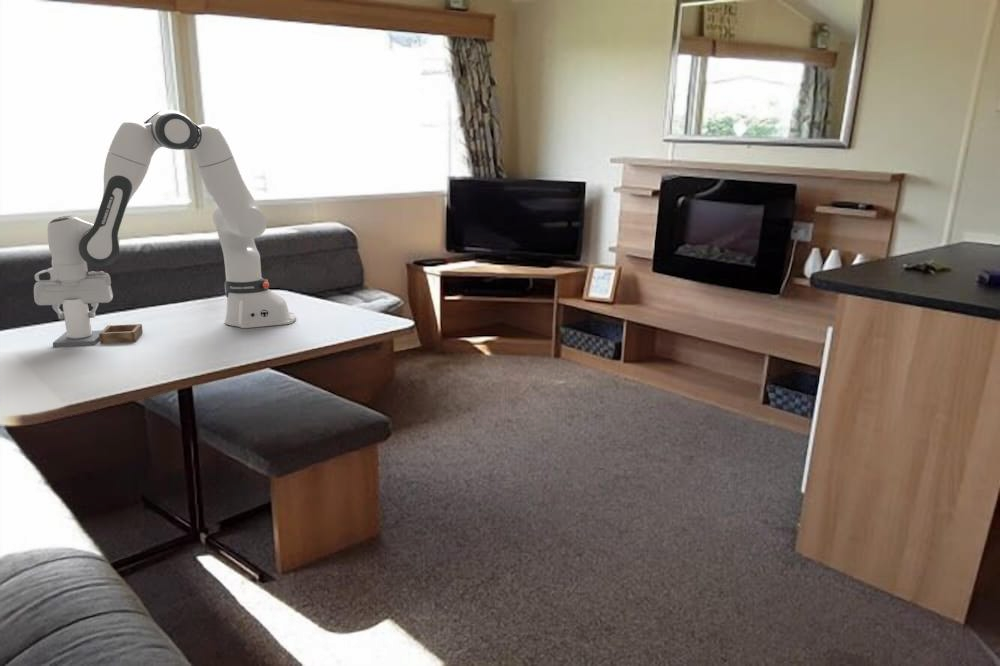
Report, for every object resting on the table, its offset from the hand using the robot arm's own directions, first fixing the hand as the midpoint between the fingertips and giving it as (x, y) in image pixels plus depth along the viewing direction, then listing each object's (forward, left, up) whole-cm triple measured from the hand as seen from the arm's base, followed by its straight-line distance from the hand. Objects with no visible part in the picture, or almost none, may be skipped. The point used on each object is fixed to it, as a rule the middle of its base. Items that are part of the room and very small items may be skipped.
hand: (77, 318), depth 218 cm
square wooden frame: (-11, 0, -7) cm, 13 cm away
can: (0, 0, -6) cm, 6 cm away
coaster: (0, 0, -7) cm, 7 cm away
